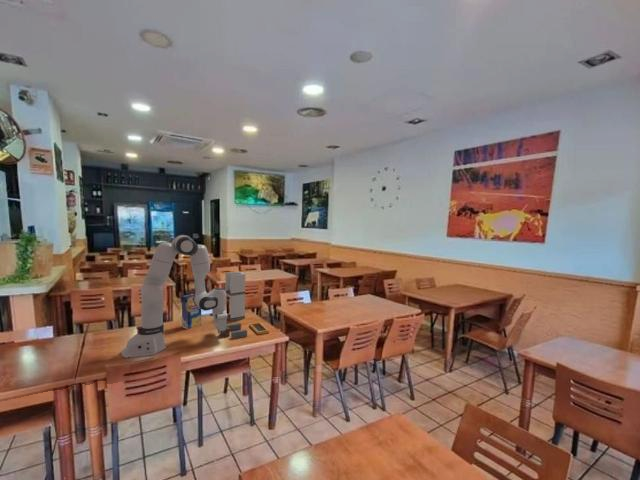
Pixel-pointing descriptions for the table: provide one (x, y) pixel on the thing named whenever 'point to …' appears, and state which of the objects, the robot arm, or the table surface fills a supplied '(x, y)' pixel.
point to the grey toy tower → (235, 294)
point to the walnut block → (225, 332)
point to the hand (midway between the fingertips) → (219, 333)
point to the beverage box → (190, 312)
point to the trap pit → (258, 328)
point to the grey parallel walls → (237, 333)
